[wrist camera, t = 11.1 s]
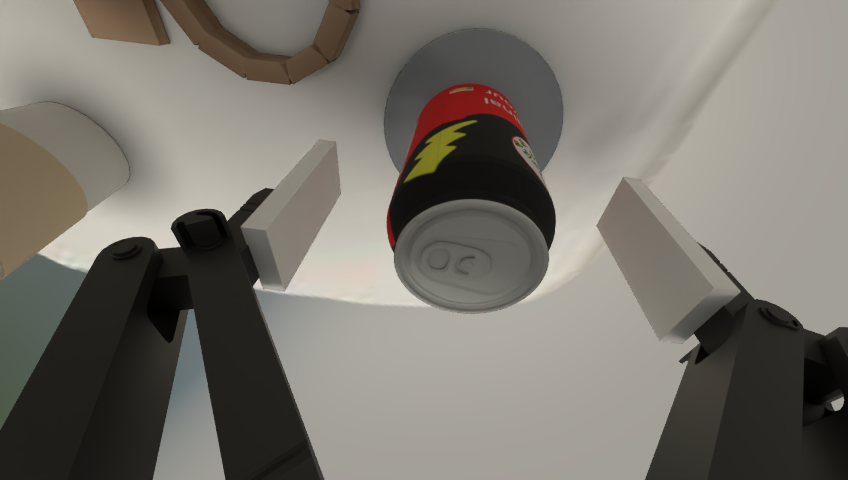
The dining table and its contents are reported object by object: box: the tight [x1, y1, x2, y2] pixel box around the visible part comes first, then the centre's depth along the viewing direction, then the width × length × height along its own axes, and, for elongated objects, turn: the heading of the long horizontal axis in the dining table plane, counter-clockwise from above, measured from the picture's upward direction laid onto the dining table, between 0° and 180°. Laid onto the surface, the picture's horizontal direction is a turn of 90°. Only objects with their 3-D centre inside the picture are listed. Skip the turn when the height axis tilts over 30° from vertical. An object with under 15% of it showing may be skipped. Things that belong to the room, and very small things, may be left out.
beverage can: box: [387, 83, 556, 314], centre depth 15 cm, size 6×6×12 cm
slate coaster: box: [384, 29, 563, 173], centre depth 20 cm, size 11×11×1 cm
